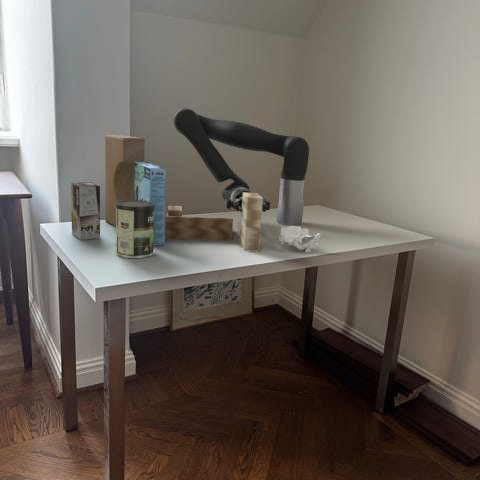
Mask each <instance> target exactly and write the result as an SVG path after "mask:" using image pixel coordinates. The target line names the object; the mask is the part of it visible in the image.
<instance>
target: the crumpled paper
mask: <svg viewBox="0 0 480 480" xmlns="http://www.w3.org/2000/svg"><path fill="white" fill-rule="evenodd" d="M280 228H281V230H280V234H279V236H278V240H279V242H280V248H282V247H283V246H284V245H287V246H290V247H291V246H293V247H295V248H297V249H298V250H299V251H303V250H304V249H305V251H304V253H305V254H307V253H311V252H312V248H313V247H315V246H316V247H319V246H320V241H319V239H321V236H322V234H321V233H320V232H317V234H315V233H313V234H310V235H309V233H310V230H309V228H302V226H298V225H289V226H288V225H287V226H283V225H282V226H281V225H280ZM316 241H317V242H316Z"/></svg>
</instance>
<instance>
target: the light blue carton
mask: <svg viewBox="0 0 480 480" xmlns="http://www.w3.org/2000/svg"><path fill="white" fill-rule="evenodd" d="M166 170H167V169H166V168H165V167H162V166H159V165H156V164H154V163H151V162H149V161H144V162H135V177H134V189H135V200H138V201H148V202H152V203H154V204H155V207H154V237H153V246H163V245H165V242H166V240H165V239H166V238H165V216H166V183H167V182H166V181H167V179H166V175H167V173H166V172H167V171H166Z"/></svg>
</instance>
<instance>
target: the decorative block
mask: <svg viewBox="0 0 480 480" xmlns="http://www.w3.org/2000/svg"><path fill="white" fill-rule="evenodd" d="M145 143H146V142H145V138H142V137H138V136H137V137H135V136H129V135H119V134H118V135H116V134H106V135H105V145H104V146H105V147H104V148H105V159H104V160H105V165H104V166H105V169H104V170H105V222H106V223H108V224H110V225H112V226H114V227H115V228H116V202H119V201H128V200H135V162H145V146H146V145H145Z"/></svg>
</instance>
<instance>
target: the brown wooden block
mask: <svg viewBox="0 0 480 480" xmlns="http://www.w3.org/2000/svg"><path fill="white" fill-rule="evenodd" d="M233 224H234V218H233V217H211V216H210V217H207V216H185V215H184V216H183V215H182V216H167V215H165V239H179V240H181V239H183V240H212V241H213V240H214V241H216V240H217V241H219V240H220V241H232V238H233V226H234V225H233Z"/></svg>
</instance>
